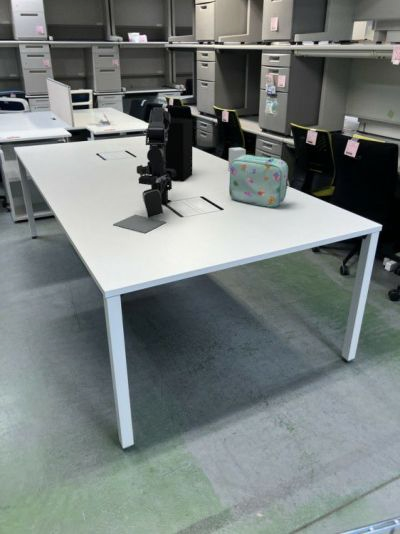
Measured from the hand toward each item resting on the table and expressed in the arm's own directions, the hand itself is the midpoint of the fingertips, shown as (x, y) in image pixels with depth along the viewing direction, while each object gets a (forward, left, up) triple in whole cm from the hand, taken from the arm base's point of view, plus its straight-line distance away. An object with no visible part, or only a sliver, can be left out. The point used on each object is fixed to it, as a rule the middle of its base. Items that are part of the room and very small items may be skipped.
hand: (159, 197), depth 179 cm
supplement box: (-86, -8, -8) cm, 87 cm away
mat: (+12, -1, -8) cm, 15 cm away
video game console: (-54, -29, -8) cm, 62 cm away
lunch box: (-39, +27, -8) cm, 48 cm away
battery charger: (+2, -1, -7) cm, 7 cm away
